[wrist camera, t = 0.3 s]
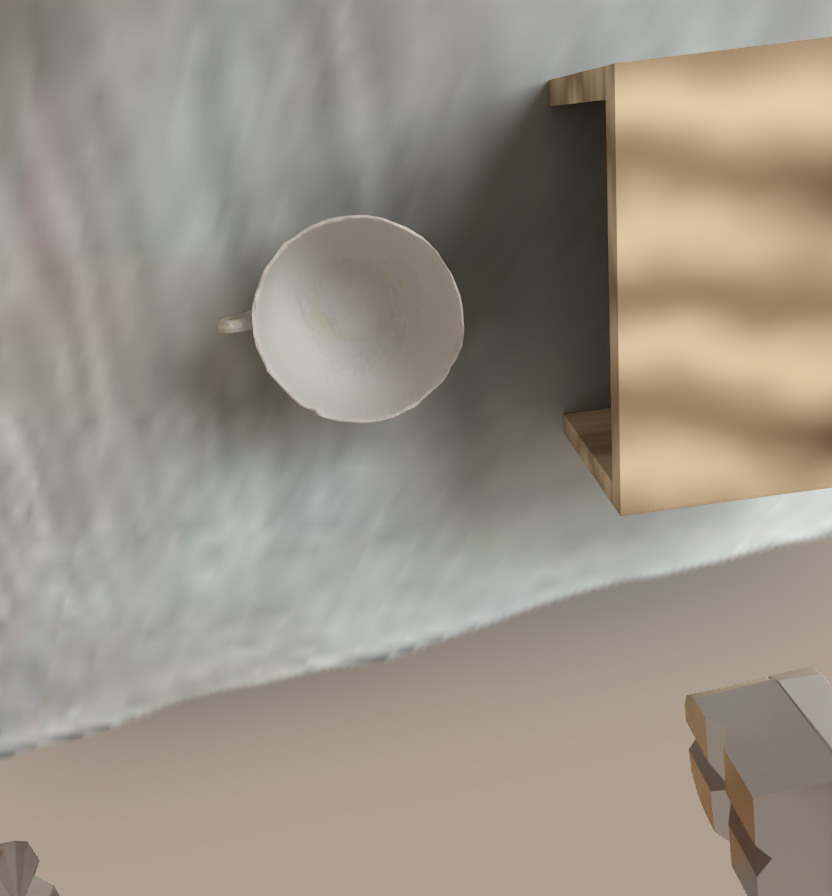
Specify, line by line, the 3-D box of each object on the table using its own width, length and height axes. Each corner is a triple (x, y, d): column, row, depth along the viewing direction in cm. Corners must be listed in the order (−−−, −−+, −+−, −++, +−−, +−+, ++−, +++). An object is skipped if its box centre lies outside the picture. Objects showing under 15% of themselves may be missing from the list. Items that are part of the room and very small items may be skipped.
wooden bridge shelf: (548, 80, 49) (614, 63, 36) (860, 41, 49) (1031, 12, 37) (564, 432, 58) (620, 515, 46) (826, 398, 58) (953, 471, 46)
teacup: (448, 199, 51) (463, 211, 44) (451, 380, 56) (466, 419, 49) (217, 209, 50) (193, 223, 43) (241, 392, 55) (223, 432, 48)
